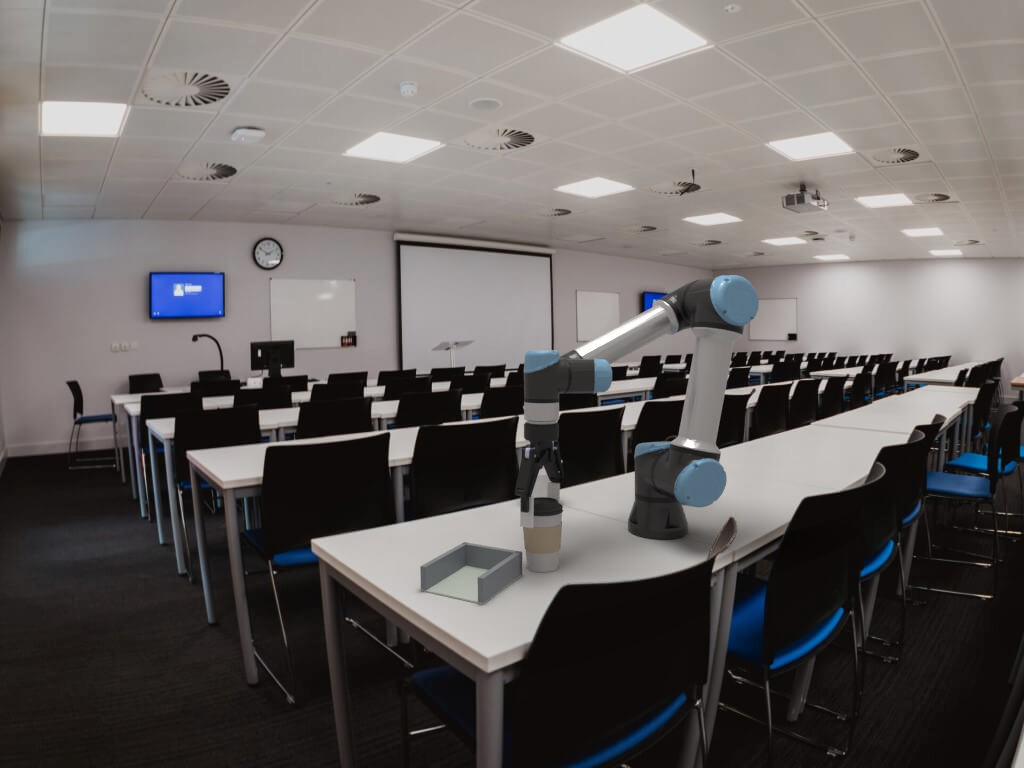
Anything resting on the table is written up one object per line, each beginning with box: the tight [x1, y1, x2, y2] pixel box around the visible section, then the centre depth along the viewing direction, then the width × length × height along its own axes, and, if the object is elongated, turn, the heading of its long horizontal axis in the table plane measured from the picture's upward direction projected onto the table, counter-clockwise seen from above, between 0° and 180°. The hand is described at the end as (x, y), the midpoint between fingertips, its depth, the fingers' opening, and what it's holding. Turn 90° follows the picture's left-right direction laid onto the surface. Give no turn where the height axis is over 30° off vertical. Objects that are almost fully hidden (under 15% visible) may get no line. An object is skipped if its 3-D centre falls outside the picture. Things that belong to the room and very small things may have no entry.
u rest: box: [419, 541, 523, 605], centre depth 124 cm, size 14×16×5 cm
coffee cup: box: [522, 497, 564, 573], centre depth 133 cm, size 9×9×15 cm
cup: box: [531, 459, 563, 498], centre depth 182 cm, size 12×12×14 cm
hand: (540, 518), depth 132 cm, fingers open, 13 cm apart
